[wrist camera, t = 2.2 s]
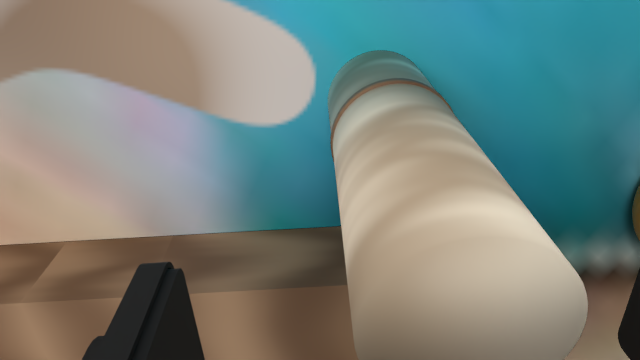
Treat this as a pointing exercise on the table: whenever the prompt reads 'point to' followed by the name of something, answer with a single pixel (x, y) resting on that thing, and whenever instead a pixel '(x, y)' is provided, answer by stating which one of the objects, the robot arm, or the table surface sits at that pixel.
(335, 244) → the brown block with hole
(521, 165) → the table surface
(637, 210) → the ornamental finial
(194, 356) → the robot arm
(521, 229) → the birch leg
